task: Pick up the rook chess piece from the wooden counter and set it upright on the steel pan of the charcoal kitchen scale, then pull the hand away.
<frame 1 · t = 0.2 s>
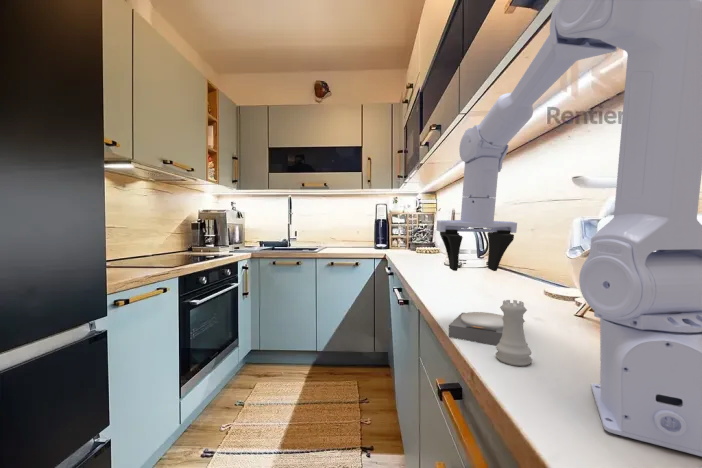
hand: (472, 269, 59), 11 cm above the countertop, tool pointing down, fingers open, 7 cm apart
rook chess piece: (513, 361, 42), on the countertop
kitchen scale: (485, 334, 53), on the countertop
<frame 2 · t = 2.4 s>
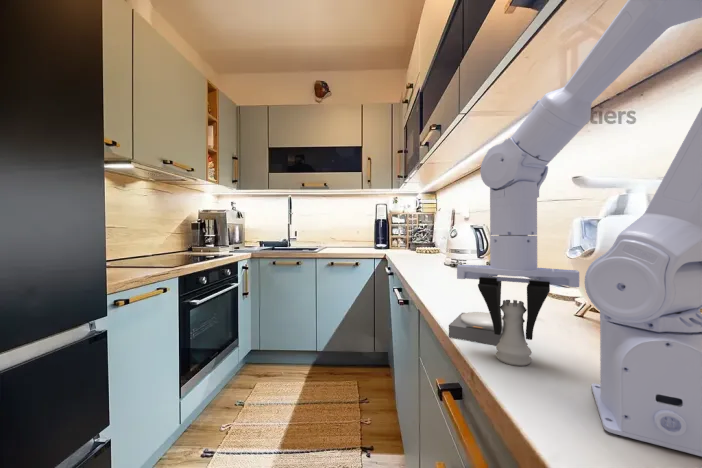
hand: (513, 335, 42), 3 cm above the countertop, tool pointing down, fingers closed on rook chess piece, 3 cm apart
rook chess piece: (513, 361, 42), on the countertop, touching gripper
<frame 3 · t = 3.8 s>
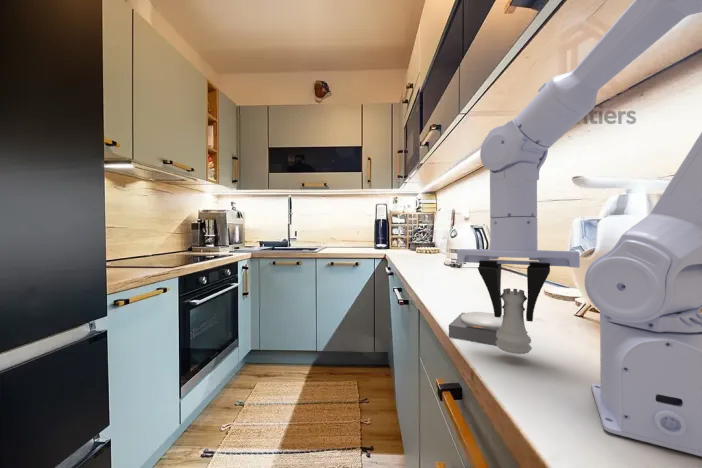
hand: (513, 317, 42), 6 cm above the countertop, tool pointing down, fingers closed on rook chess piece, 3 cm apart
rook chess piece: (512, 349, 42), point 1 cm above the countertop, touching gripper
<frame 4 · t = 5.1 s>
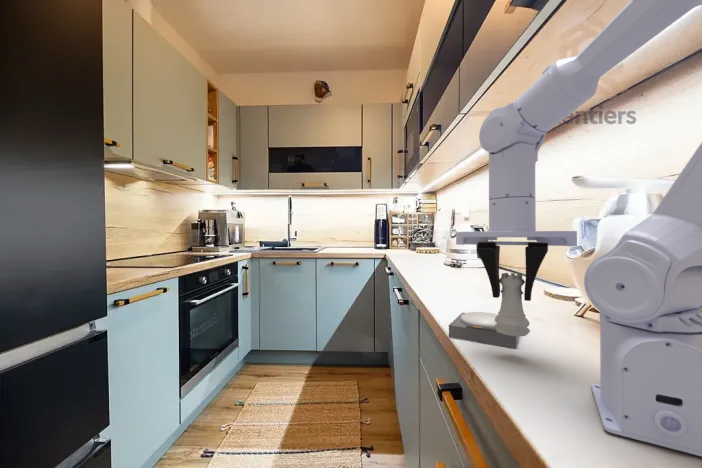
hand: (511, 297, 43), 8 cm above the countertop, tool pointing down, fingers closed on rook chess piece, 3 cm apart
rook chess piece: (511, 333, 43), point 3 cm above the countertop, touching gripper
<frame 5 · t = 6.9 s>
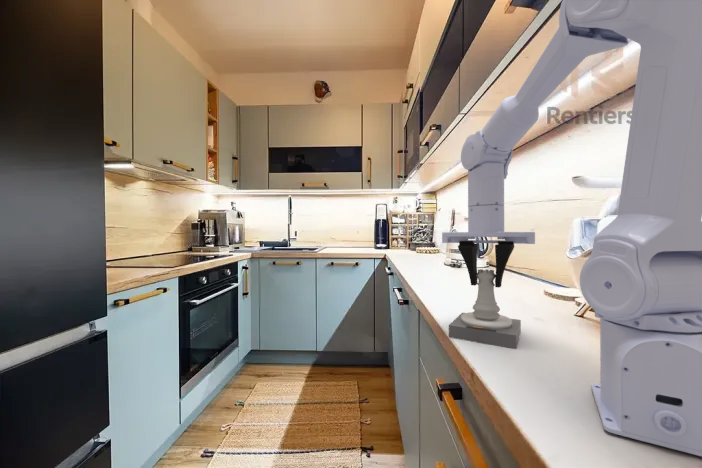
hand: (486, 285, 53), 8 cm above the countertop, tool pointing down, fingers closed on rook chess piece, 3 cm apart
rook chess piece: (486, 318, 53), point 3 cm above the countertop, touching gripper
when the fingers open (7 cm above the countertop, at t = 8.1 s): rook chess piece stays where it is, resting on kitchen scale.
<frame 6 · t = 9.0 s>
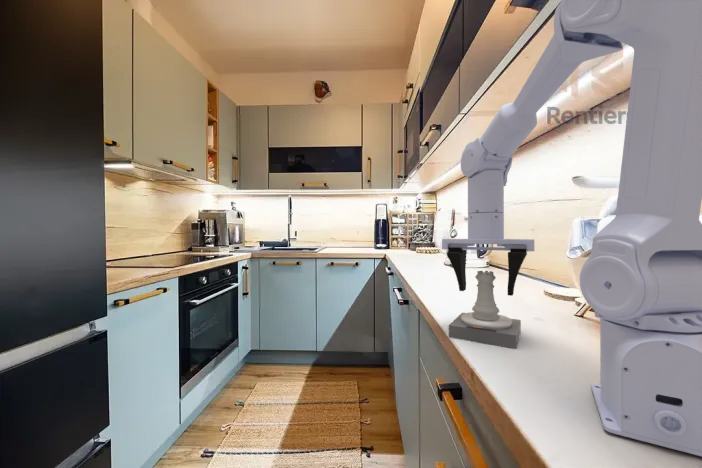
hand: (485, 292, 53), 7 cm above the countertop, tool pointing down, fingers open, 7 cm apart
rook chess piece: (485, 319, 53), point 3 cm above the countertop, touching kitchen scale
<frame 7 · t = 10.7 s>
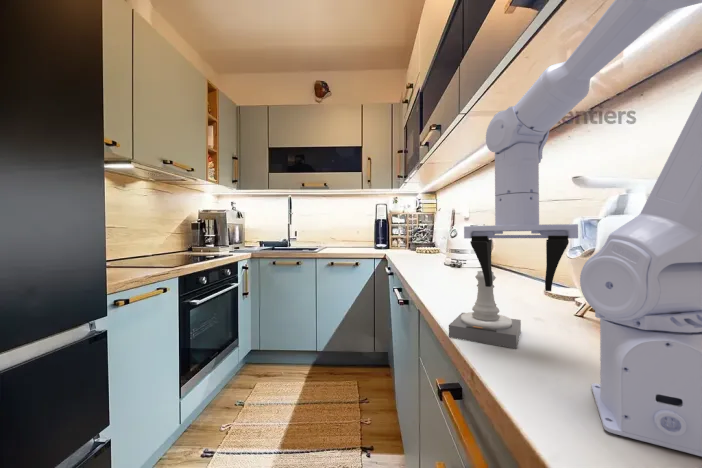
hand: (517, 288, 45), 9 cm above the countertop, tool pointing down, fingers open, 7 cm apart
nothing on the countertop moved.
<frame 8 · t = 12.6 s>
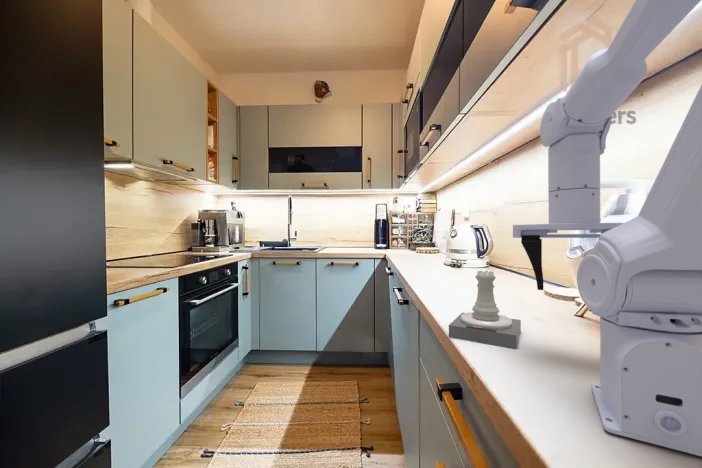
hand: (573, 291, 42), 9 cm above the countertop, tool pointing down, fingers open, 7 cm apart
nothing on the countertop moved.
at the end: rook chess piece 0.3 cm off-centre on the kitchen scale, point 2.6 cm above the kitchen scale's base; rook chess piece tilted 0°; the gripper is holding nothing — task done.
